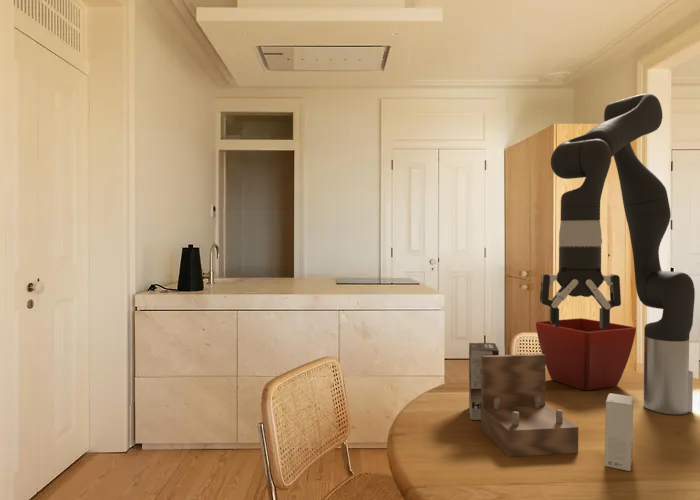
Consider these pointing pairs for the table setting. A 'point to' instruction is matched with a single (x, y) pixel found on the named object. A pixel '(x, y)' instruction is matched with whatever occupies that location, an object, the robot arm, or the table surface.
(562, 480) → the table surface
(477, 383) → the coffee box
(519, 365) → the peg shelf stand
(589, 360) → the plant pot
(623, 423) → the skincare box
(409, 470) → the table surface
